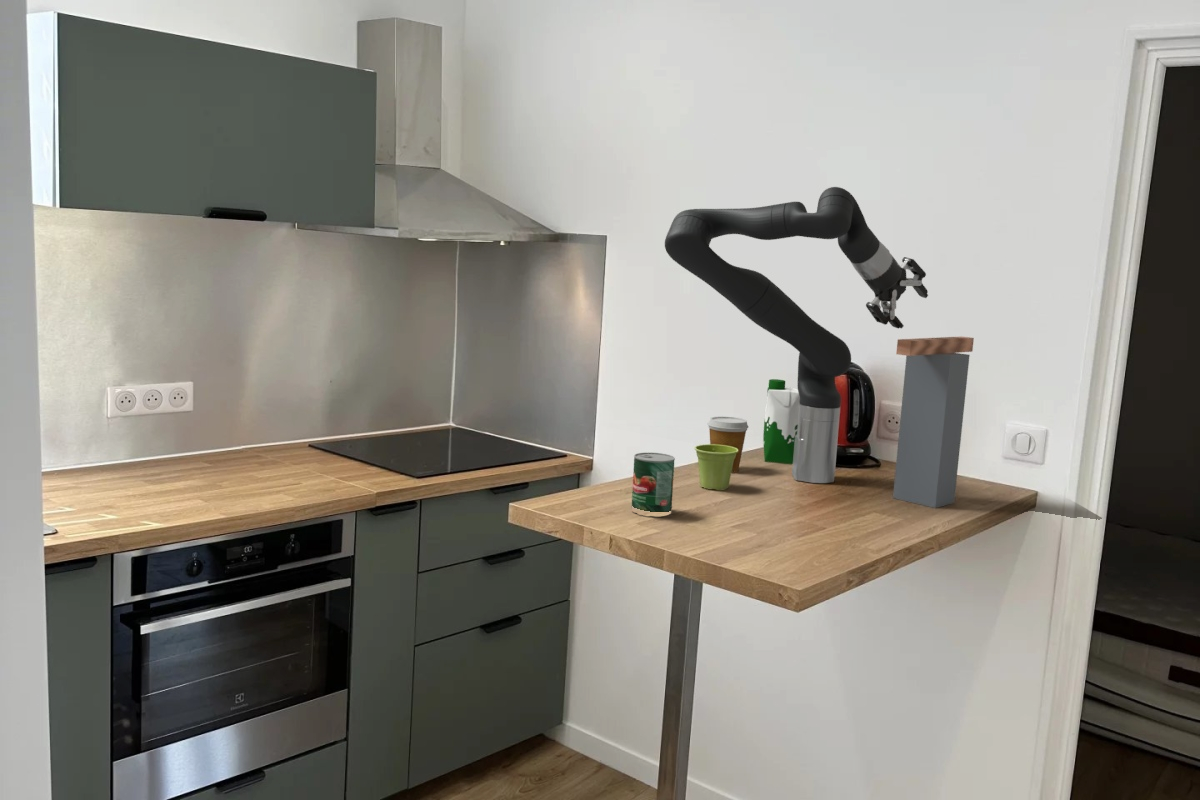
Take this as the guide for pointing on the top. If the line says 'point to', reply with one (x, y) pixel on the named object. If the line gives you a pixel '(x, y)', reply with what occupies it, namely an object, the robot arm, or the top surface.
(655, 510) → the canned tomato
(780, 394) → the milk carton
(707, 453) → the plant pot
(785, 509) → the top surface
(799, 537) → the top surface
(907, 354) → the batten
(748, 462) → the top surface
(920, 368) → the pedestal
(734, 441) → the disposable coffee cup
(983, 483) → the top surface
